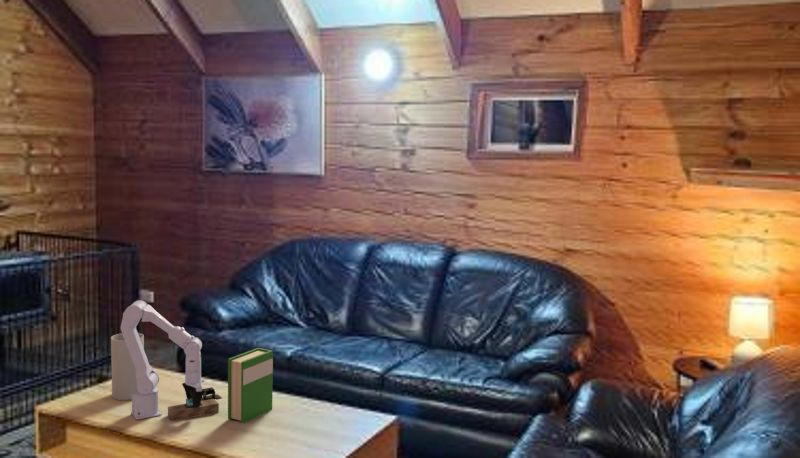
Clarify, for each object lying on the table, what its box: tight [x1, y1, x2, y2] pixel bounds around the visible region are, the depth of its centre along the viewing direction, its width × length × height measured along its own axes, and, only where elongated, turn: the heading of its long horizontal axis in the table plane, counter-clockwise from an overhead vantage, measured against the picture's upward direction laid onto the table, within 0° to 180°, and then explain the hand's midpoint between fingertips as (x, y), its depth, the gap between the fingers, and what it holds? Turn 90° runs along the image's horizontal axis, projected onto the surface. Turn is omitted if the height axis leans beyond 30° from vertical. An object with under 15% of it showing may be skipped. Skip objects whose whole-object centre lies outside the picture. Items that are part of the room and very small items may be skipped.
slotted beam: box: [167, 399, 220, 421], centre depth 278 cm, size 18×6×4 cm, turn 124°
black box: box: [201, 386, 223, 401], centre depth 295 cm, size 12×7×5 cm, turn 126°
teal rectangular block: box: [185, 398, 201, 408], centre depth 278 cm, size 5×2×6 cm, turn 123°
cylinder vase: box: [110, 332, 145, 401], centre depth 294 cm, size 12×12×25 cm
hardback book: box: [227, 347, 274, 424], centre depth 278 cm, size 18×7×24 cm, turn 152°
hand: (193, 403), depth 277 cm, fingers open, 7 cm apart
